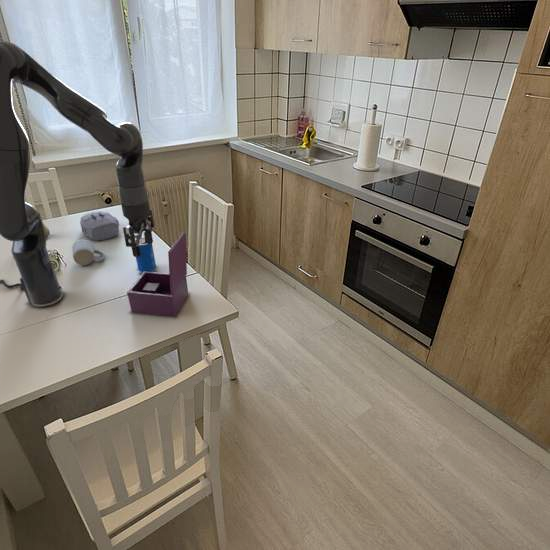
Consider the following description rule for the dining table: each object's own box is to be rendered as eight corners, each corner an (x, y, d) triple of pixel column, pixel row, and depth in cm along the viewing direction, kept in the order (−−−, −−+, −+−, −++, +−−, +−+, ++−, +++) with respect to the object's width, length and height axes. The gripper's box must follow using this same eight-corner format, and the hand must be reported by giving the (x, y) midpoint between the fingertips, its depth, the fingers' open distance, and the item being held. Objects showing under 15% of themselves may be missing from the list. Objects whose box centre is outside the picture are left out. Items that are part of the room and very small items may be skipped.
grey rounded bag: (125, 234, 171) (110, 219, 184) (121, 217, 166) (106, 202, 180) (89, 244, 163) (76, 227, 176) (84, 226, 158) (71, 210, 172)
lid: (168, 251, 111) (170, 252, 110) (183, 232, 121) (185, 232, 121) (170, 295, 119) (173, 295, 119) (184, 273, 129) (186, 273, 129)
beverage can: (151, 275, 144) (146, 246, 137) (135, 273, 145) (129, 244, 138) (159, 266, 149) (154, 238, 143) (143, 264, 150) (138, 236, 144)
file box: (131, 312, 125) (126, 292, 121) (147, 290, 136) (144, 271, 131) (175, 316, 123) (172, 296, 119) (188, 294, 134) (185, 274, 130)
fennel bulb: (38, 234, 170) (29, 208, 163) (50, 232, 172) (42, 206, 165) (37, 240, 165) (28, 213, 159) (50, 238, 167) (41, 212, 161)
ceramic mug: (75, 268, 147) (70, 250, 143) (75, 258, 153) (70, 240, 149) (105, 263, 151) (101, 245, 147) (104, 253, 157) (100, 236, 153)
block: (144, 303, 128) (141, 289, 125) (149, 295, 131) (146, 282, 129) (157, 304, 127) (154, 290, 124) (162, 296, 131) (159, 283, 128)
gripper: (133, 189, 117) (141, 238, 125) (109, 207, 105) (120, 260, 113) (157, 191, 116) (164, 240, 124) (135, 210, 104) (145, 262, 113)
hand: (143, 249), depth 119 cm, fingers open, 8 cm apart
